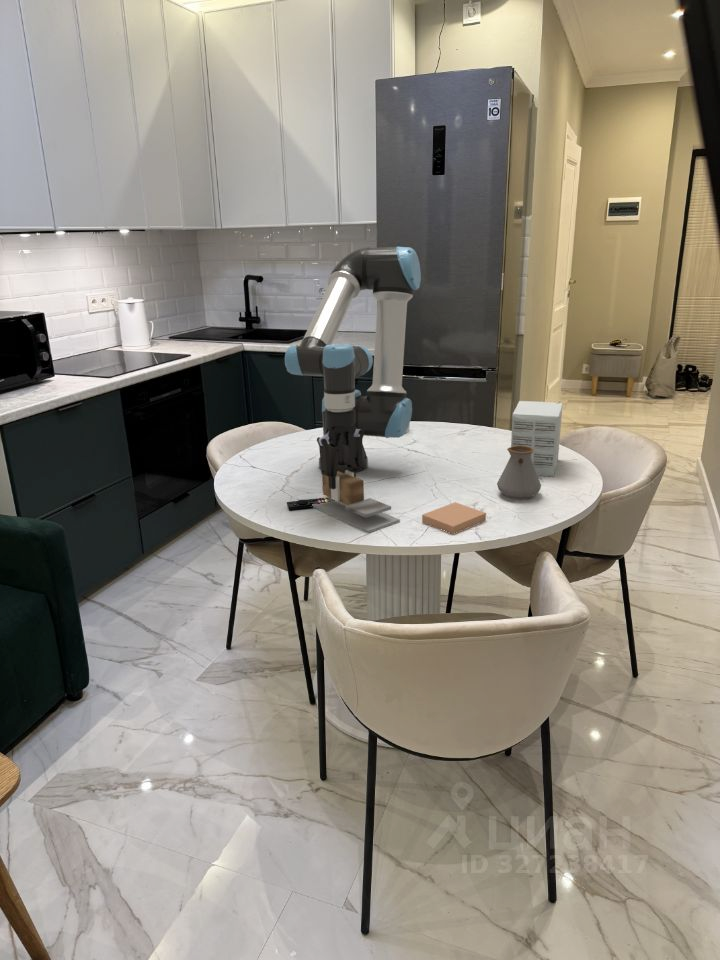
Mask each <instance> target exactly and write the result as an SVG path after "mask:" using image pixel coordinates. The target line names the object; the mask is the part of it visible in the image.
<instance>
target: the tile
mask: <svg viewBox="0 0 720 960" xmlns="http://www.w3.org/2000/svg"><path fill="white" fill-rule="evenodd" d="M421 519H422V520H421V522H423V524H425V525H428V526H430V525H431V526H430V527H433V528H435V527H436V529H438V528H439V529H438V530H440V529H442V530H441V531H443V530H445V531H447V532H446V533H448V532H450V533H449V534H451V533H452V534H451V535H455V534H457V533H460V532H462V531H464V529H465V530H466V528H467V529H469V528H472V527H474V526H476V525H479V524H481V523H483V522H485V520H487V512H484V511H481V510H478V509H476V508H473V507H471V506H467V505H465V504H461V503H459V502H452V503H449V504H446V505H444V506H441V507H438V508H436V509H434V510H431V511H428V512H426V513H423V514H421ZM480 522H481V523H480ZM478 523H479V524H478ZM473 525H474V526H473ZM471 526H472V527H471ZM468 527H469V528H468ZM461 530H462V531H461ZM445 531H444V532H445ZM459 531H460V532H459ZM456 532H457V533H456ZM454 533H455V534H454Z"/></svg>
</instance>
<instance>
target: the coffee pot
mask: <svg viewBox="0 0 720 960" xmlns="http://www.w3.org/2000/svg"><path fill="white" fill-rule="evenodd" d="M507 451H508V453H509V455H510V456H511V457H509V459H508V461H507V462H506V465H505V467H504V469H503V471H502V473H501V475H500V476H499V479H498V480H497V483H496V485H497V488H498V490H499V491H500V493H501V494H503V495H504V496H505V498H508V499H510V498H511V500H515V499H517V501H519V500H521V501H523V500H524V501H525V499H526V500H530V499H532V498H534V496H535V495H537V494H539V492H540V490H541V488H542V484H541V481H540V480H539V475H537V473H536V471H535V468H534V465H533V463H532V460H531V454H532V452H533V451H534V450H533V449H532V448H530V447H527V446H513V447H511V446H510V447H508V448H507Z"/></svg>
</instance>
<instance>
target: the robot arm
mask: <svg viewBox="0 0 720 960" xmlns="http://www.w3.org/2000/svg"><path fill="white" fill-rule="evenodd" d="M420 265H421V264H420V260H419V257H418V254H417V252H416V250H415V249H413V248H412V247H410V246H409V247H408V246H407V247H406V246H382V247H381V246H380V247H361V248H357V249H356V250H354V251H352V252H350V253H349V254H347V255H345V257H343V258H342V259H341V260H340V261H339V262H338V263H337V264H336V265H335V266H334V268H333V269H332V271H331V272H330V275H329V276H328V280H327V286H328V287H327V289H326V291H325V294H324V295H323V297H322V299H321V300H320V301H321V302H320V304H319V305H318V308H317V309H316V311H315V313H314V316H313V318H312V320H311V322H310V324H309V326H308V328H307V331H305V334H304V336H303V338H302V341H301V342H300V344H299V345H297V344H294V345H290V346H289V347H287V349H286V351H285V354H284V365H285V368H286V371H287V373H289V374H291V375H296V376H305V377H306V376H307V377H308V376H310V377H311V376H312V377H313V376H314V377H323V385H324V387H323V388H324V389H323V398H322V400H321V415H322V417H321V419H322V433H323V435H322V436H318V437H317V438H316V442H317V444H318V447H319V458H318V468H319V469H320V474H321V475H322V474H323V475H326V476H328V480H329V488H331V499H333V500H335V501H337V502H338V501H340V485H339V476H336V475H337V471H339V472H342V473H344V474H347V475H350V476H353V477H355V478H357V474H356V473H359V472H361V471H363V470H365V469H367V468H368V466H369V461H368V460H369V459H368V456H367V453H366V450H365V447H364V445H363V438H364V436H365V437H366V436H367V437H378V438H386V439H389V438H390V439H391V438H396V439H397V438H401V437H403V436H404V435H405V434H407V433H406V431H407V429H408V426H409V424H410V423H411V419H412V415H413V407H412V406H413V403H412V400H411V399H410V398H408V397H407V391H406V390H405V389H404V387H403V374H404V373H403V372H404V371H403V369H404V356H405V344H406V343H405V341H406V326H407V325H406V324H407V311H408V309H407V308H408V302H410V300H411V299H412V298H414V297H413V296H414V291H417V290H419V289H420V286H421V281H422V277H421V276H422V275H421V274H422V271H421V266H420ZM364 290H365V291H366V290H369V291H370V290H372V296H373V297H374V298H375V300H376V302H377V304H376V319H375V321H376V322H375V336H374V339H375V340H374V352H373V353H374V354H373V355H372V353H371V351H370V350H369V349H368V348H367V347H366V346H364V345H352V344H349V343H333V342H334V340H335V337H336V336H337V333H338V331H339V329H340V327H341V324H342V322H343V320H344V319H345V316H346V313H347V312H348V311H349V310H348V309H349V307H350V305H351V303H352V300H353V299H356V298H357V296H358V295H359V294H360V292H361V291H364ZM372 366H373V370H372V371H373V372H372V373H373V374H372V383H371V386H370V387H369V388H368V389H367V390H366V395H365V396H363V395H362V393H361V390H359V389H356V387H355V385H356V384H355V383H356V379H357V378H360V377H363V376H364V375H365V374H366V373H368V372H369V371H370V370H371V368H372ZM410 425H411V424H410Z"/></svg>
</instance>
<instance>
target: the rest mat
mask: <svg viewBox="0 0 720 960" xmlns="http://www.w3.org/2000/svg"><path fill="white" fill-rule="evenodd" d="M312 506H313V507H312ZM312 506H311V507H312V508H314V509H316V510H319V511H321V512H323V513H325V514H327V515H329V516H330V517H331V516H332V517H334V518H336V519H338V520H339V521H341V522H344V523H346V524H348V525H350V526H353V527H355V528H358V529H359V530H362V531H363V532H365V533H367V534H370V533H372V532H375V531H376V532H377V531H379V530H381V529H384V528H387V527H389V526H393V525H395V524H398V523H400V522H401V520H400V518H398V517H395V516H392V515H390V514H387V513H385V512H382V513H379V514H376V515H373V516H370V517H367V518H366V517H363V516H361V515H359V514H356V513H354V512H352V511H349V510H347V509H345V506H346V504H344V503H341V502H339V501H338V502H337V501H331V502H326V503H320V504H312Z"/></svg>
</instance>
